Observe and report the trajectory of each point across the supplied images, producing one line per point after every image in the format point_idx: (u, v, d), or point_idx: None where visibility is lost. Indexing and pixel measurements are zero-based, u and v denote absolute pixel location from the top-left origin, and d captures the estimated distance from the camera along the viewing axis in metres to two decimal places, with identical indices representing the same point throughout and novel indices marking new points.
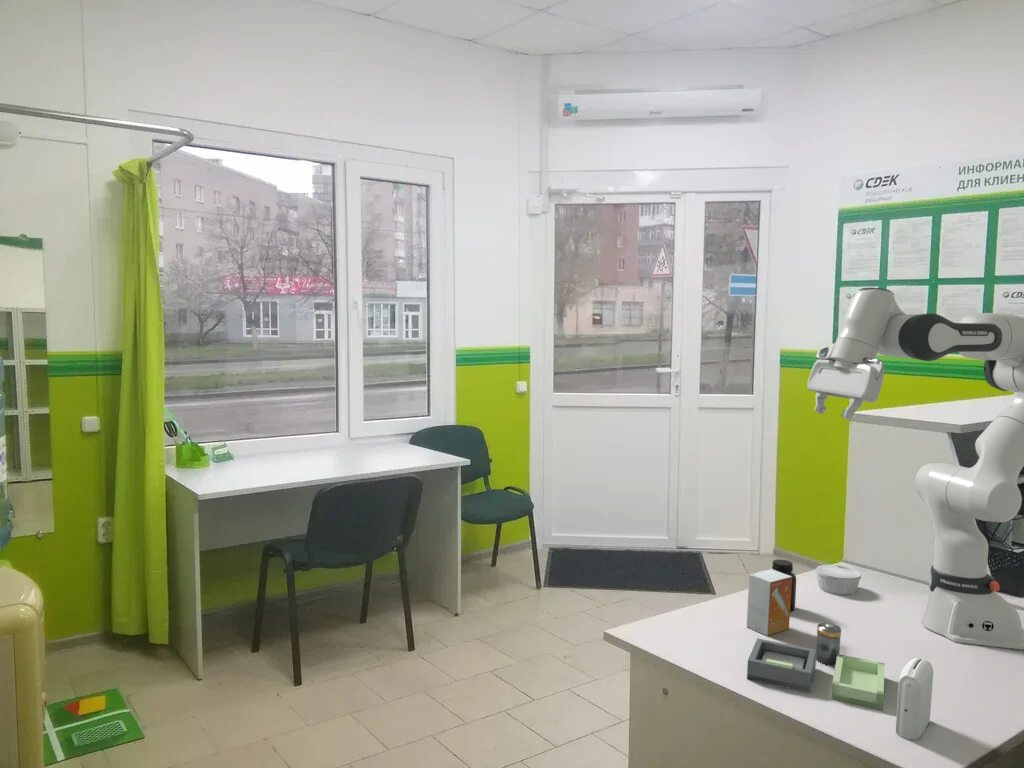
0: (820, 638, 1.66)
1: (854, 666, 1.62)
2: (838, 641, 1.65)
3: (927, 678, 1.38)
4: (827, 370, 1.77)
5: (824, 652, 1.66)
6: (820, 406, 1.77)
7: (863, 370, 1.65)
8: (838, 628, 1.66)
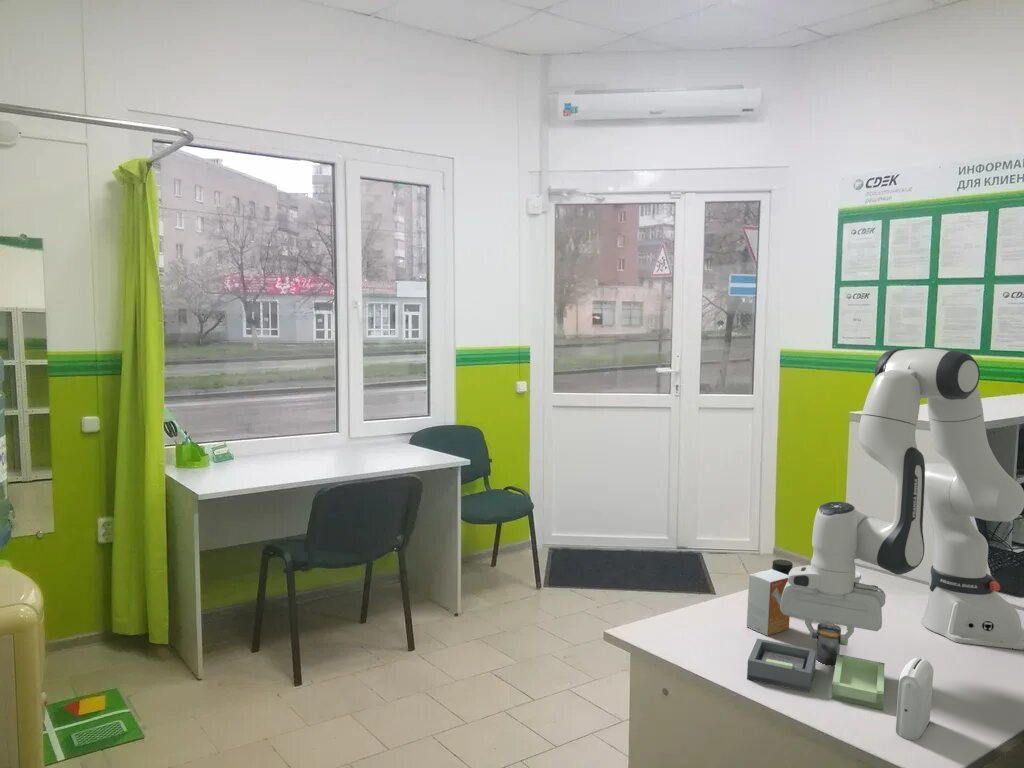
0: (820, 638, 1.66)
1: (854, 666, 1.62)
2: (838, 641, 1.65)
3: (927, 678, 1.38)
4: (807, 596, 1.67)
5: (824, 652, 1.66)
6: (816, 633, 1.68)
7: (868, 602, 1.62)
8: (838, 628, 1.66)
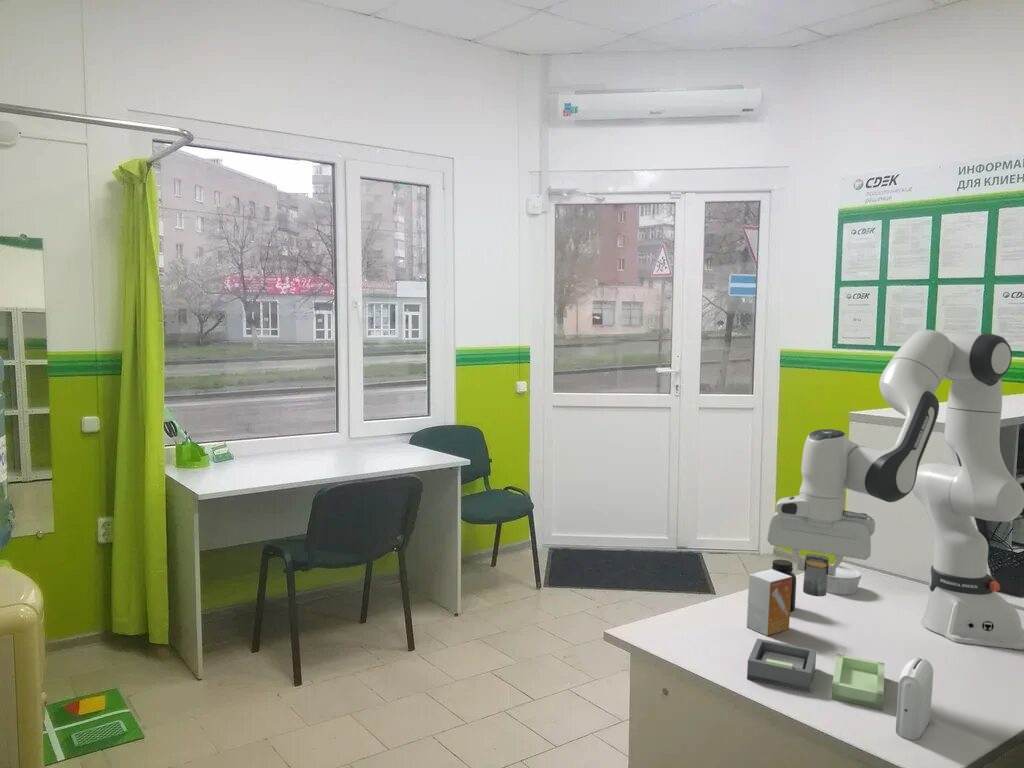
0: (807, 568, 1.63)
1: (854, 666, 1.62)
2: (826, 571, 1.62)
3: (927, 678, 1.38)
4: (795, 525, 1.63)
5: (812, 582, 1.62)
6: (804, 564, 1.64)
7: (857, 529, 1.58)
8: (826, 558, 1.62)
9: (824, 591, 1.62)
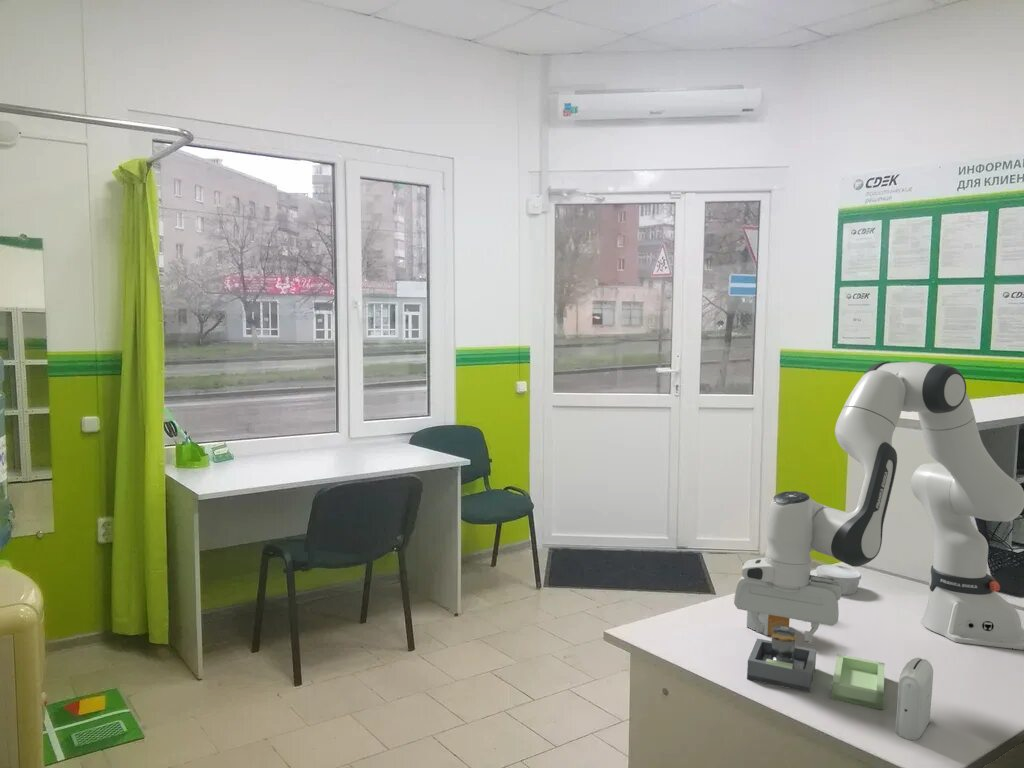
0: (774, 641, 1.60)
1: (854, 666, 1.62)
2: (793, 644, 1.59)
3: (927, 678, 1.38)
4: (761, 589, 1.60)
5: (779, 656, 1.59)
6: (763, 627, 1.62)
7: (823, 595, 1.55)
8: (793, 631, 1.60)
9: None
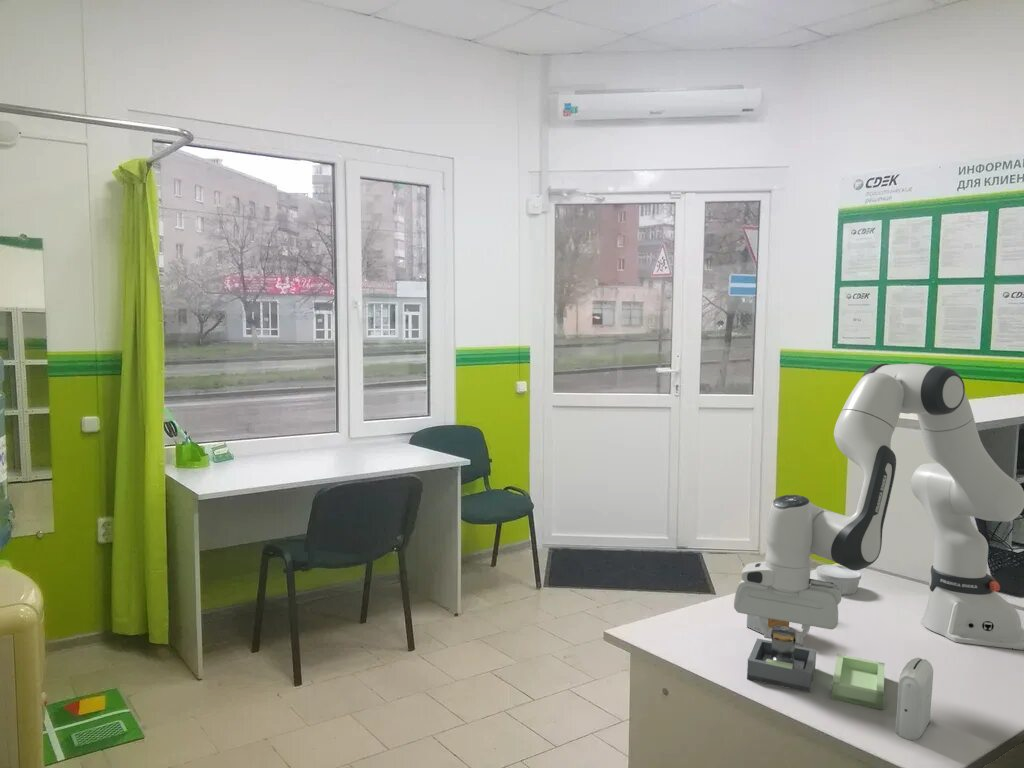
0: (774, 641, 1.60)
1: (854, 666, 1.62)
2: (793, 644, 1.59)
3: (927, 678, 1.38)
4: (761, 593, 1.61)
5: (779, 656, 1.59)
6: (771, 632, 1.61)
7: (823, 599, 1.55)
8: (793, 631, 1.60)
9: None
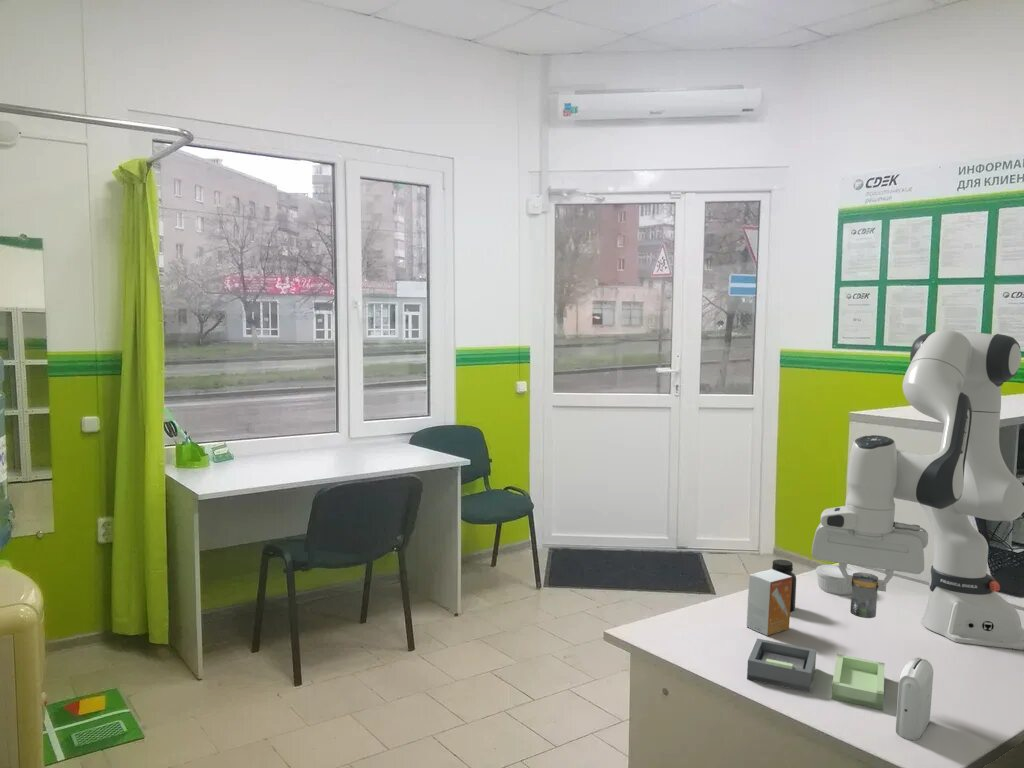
0: (855, 588, 1.53)
1: (854, 666, 1.62)
2: (875, 591, 1.52)
3: (927, 678, 1.38)
4: (841, 538, 1.54)
5: (860, 603, 1.52)
6: None
7: (909, 542, 1.48)
8: (875, 577, 1.53)
9: (874, 612, 1.52)
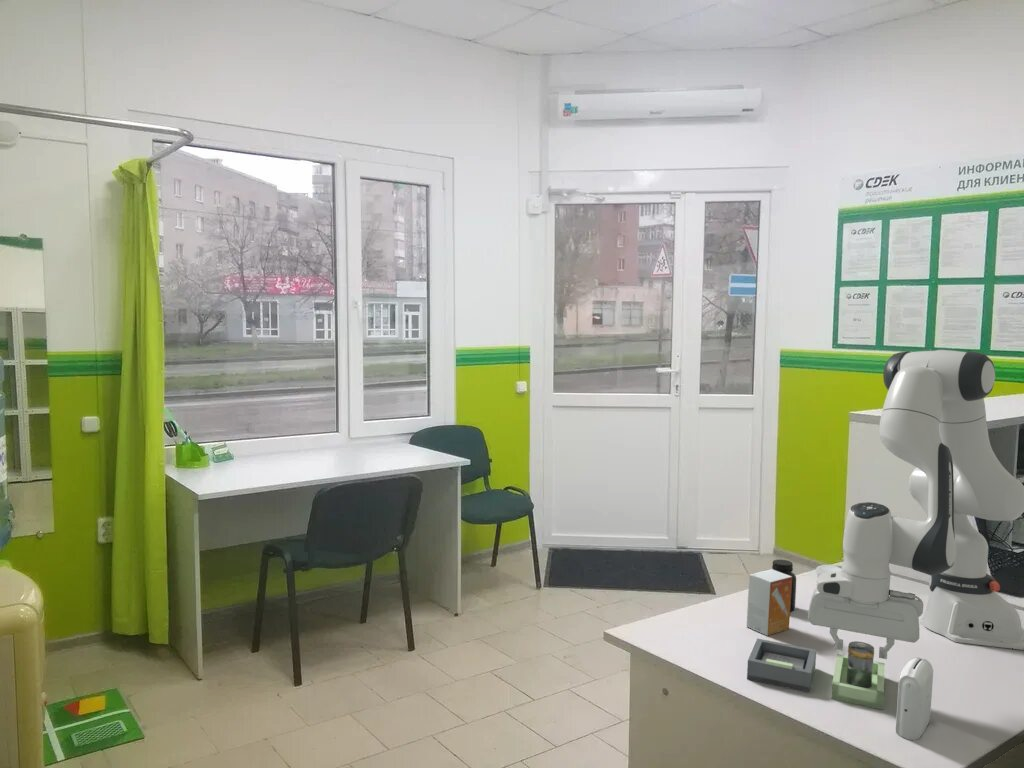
0: (851, 658, 1.54)
1: None
2: (871, 662, 1.53)
3: (927, 678, 1.38)
4: (837, 604, 1.55)
5: (856, 673, 1.54)
6: (842, 644, 1.56)
7: (904, 611, 1.50)
8: (871, 647, 1.54)
9: (869, 682, 1.54)
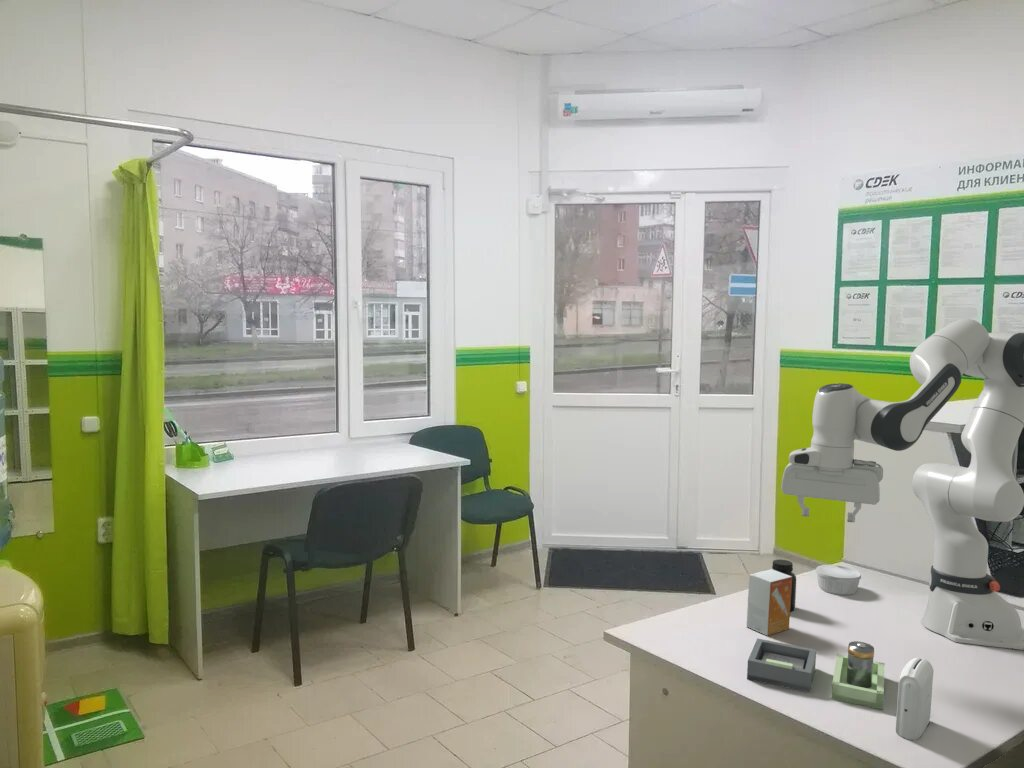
0: (851, 658, 1.54)
1: None
2: (871, 662, 1.53)
3: (927, 678, 1.38)
4: (807, 474, 1.73)
5: (856, 673, 1.54)
6: (808, 510, 1.74)
7: (866, 476, 1.67)
8: (871, 648, 1.54)
9: (869, 682, 1.54)
